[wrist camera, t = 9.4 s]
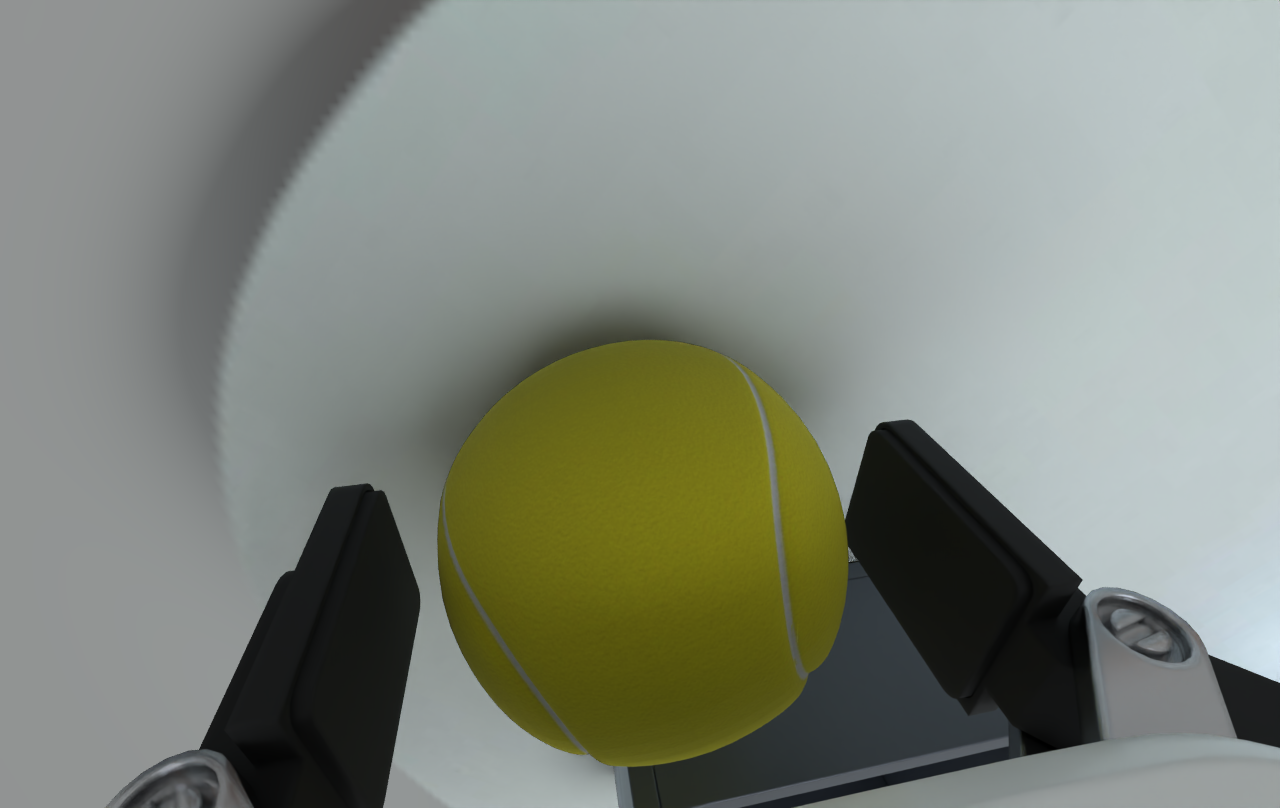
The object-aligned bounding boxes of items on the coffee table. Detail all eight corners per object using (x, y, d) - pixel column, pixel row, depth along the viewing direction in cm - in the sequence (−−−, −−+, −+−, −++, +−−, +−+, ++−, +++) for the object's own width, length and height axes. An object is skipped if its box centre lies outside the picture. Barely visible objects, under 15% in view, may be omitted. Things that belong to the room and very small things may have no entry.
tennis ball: (538, 565, 15) (550, 890, 9) (396, 359, 11) (258, 698, 5) (776, 476, 15) (942, 747, 9) (720, 234, 11) (952, 440, 5)
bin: (614, 776, 22) (639, 965, 18) (602, 603, 16) (634, 820, 12) (864, 723, 24) (946, 882, 19) (937, 548, 18) (1083, 719, 13)
